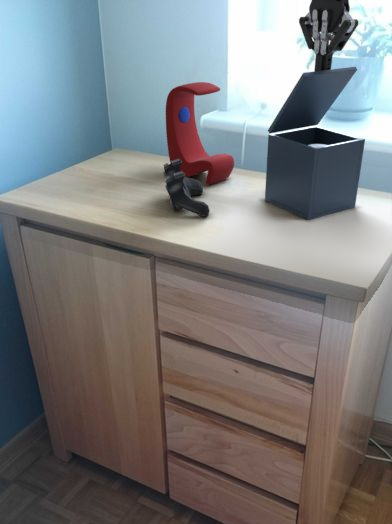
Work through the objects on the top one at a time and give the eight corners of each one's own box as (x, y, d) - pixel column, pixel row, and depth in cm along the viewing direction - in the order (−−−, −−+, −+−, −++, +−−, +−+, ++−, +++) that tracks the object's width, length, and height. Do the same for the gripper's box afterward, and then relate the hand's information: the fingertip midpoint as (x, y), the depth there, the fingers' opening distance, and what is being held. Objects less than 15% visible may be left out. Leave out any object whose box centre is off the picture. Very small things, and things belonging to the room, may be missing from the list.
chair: (167, 174, 133) (163, 83, 122) (188, 167, 138) (186, 78, 126) (213, 187, 125) (214, 90, 114) (234, 179, 129) (236, 85, 118)
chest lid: (357, 69, 102) (355, 66, 103) (305, 76, 97) (303, 72, 97) (317, 125, 115) (315, 121, 115) (269, 133, 110) (267, 130, 110)
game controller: (177, 204, 124) (154, 164, 118) (204, 188, 122) (182, 148, 117) (182, 232, 110) (156, 189, 105) (213, 215, 109) (188, 171, 104)
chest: (355, 207, 113) (365, 139, 106) (307, 219, 108) (315, 149, 100) (310, 189, 123) (316, 125, 115) (264, 200, 118) (268, 134, 110)
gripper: (290, -37, 96) (282, 75, 105) (345, -39, 86) (331, 84, 96) (322, -37, 99) (313, 71, 109) (379, -39, 89) (363, 79, 99)
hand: (322, 77), depth 102 cm, fingers closed
